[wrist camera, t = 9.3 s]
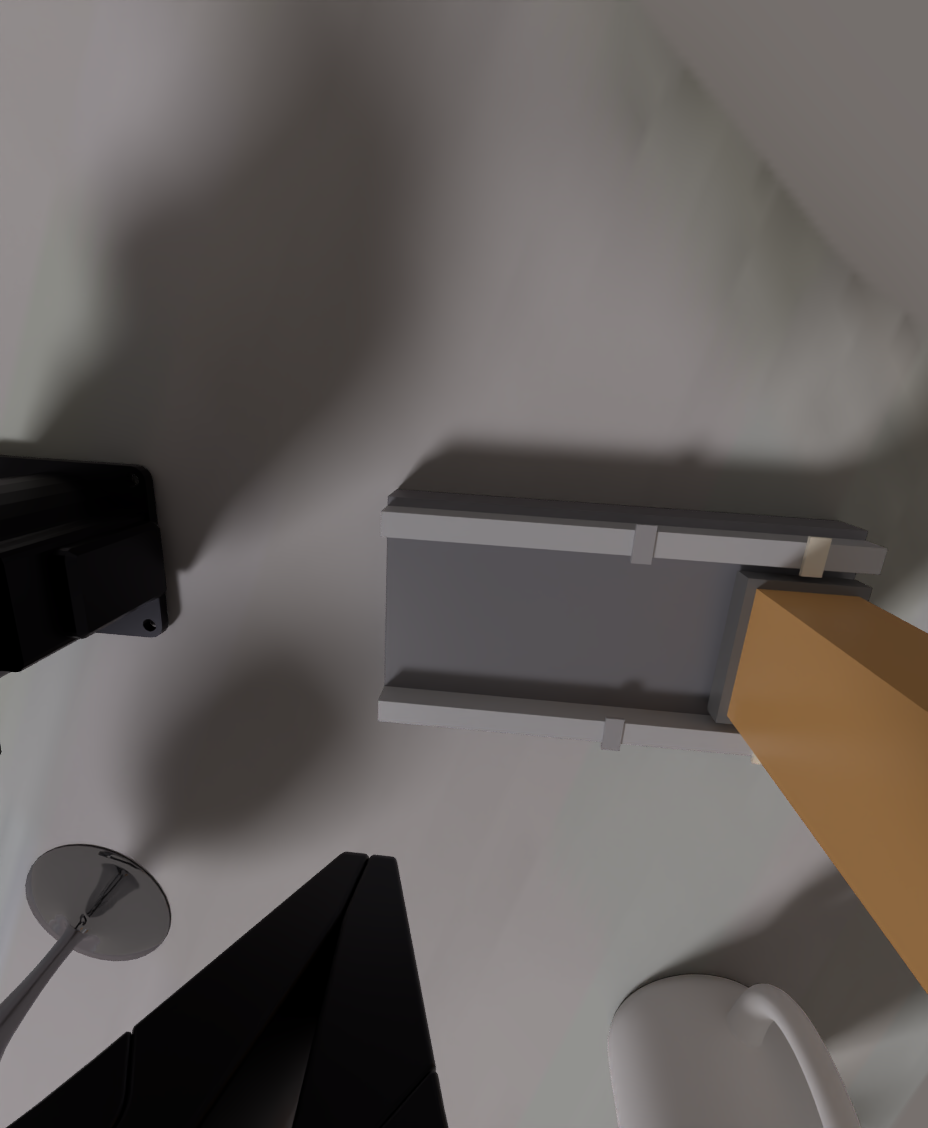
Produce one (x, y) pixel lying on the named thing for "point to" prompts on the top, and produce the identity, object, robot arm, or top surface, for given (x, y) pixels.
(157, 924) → the wine glass
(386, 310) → the top surface
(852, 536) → the rail
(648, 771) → the top surface
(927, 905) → the fader tab
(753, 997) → the cup
